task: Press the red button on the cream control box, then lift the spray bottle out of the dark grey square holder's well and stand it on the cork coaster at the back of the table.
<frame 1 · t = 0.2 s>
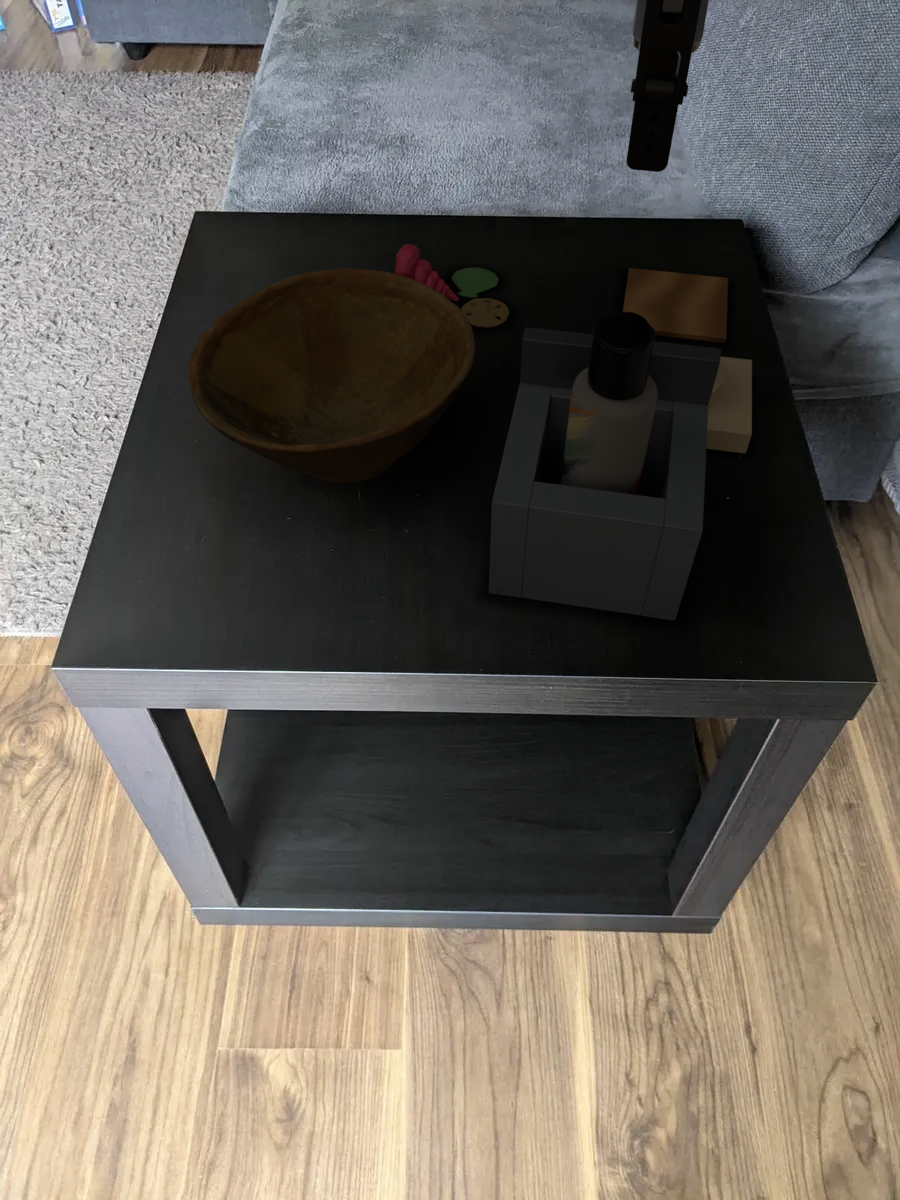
hand: (651, 130, 53), 30 cm above the table, tool pointing down, fingers open, 8 cm apart
coaster: (674, 306, 92), on the table
bowl: (345, 444, 81), on the table
button: (687, 366, 80), point 4 cm above the table, slide at 0.1 cm
toy pieces: (451, 302, 93), on the table
dark grey square holder: (590, 537, 74), on the table
control box: (677, 406, 83), on the table
spray bottle: (590, 539, 74), resting in dark grey square holder
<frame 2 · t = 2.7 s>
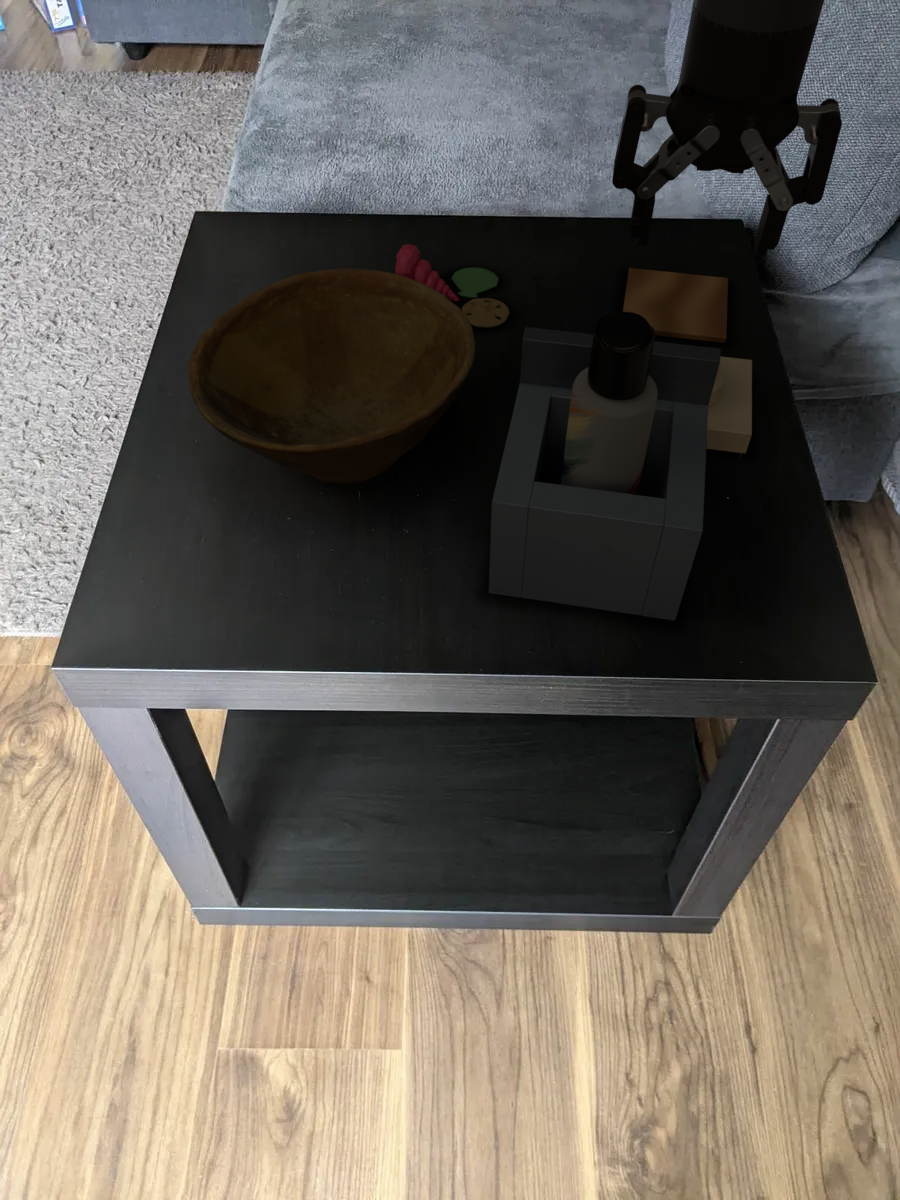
hand: (700, 245, 69), 17 cm above the table, tool pointing down, fingers open, 8 cm apart
nothing on the table moved.
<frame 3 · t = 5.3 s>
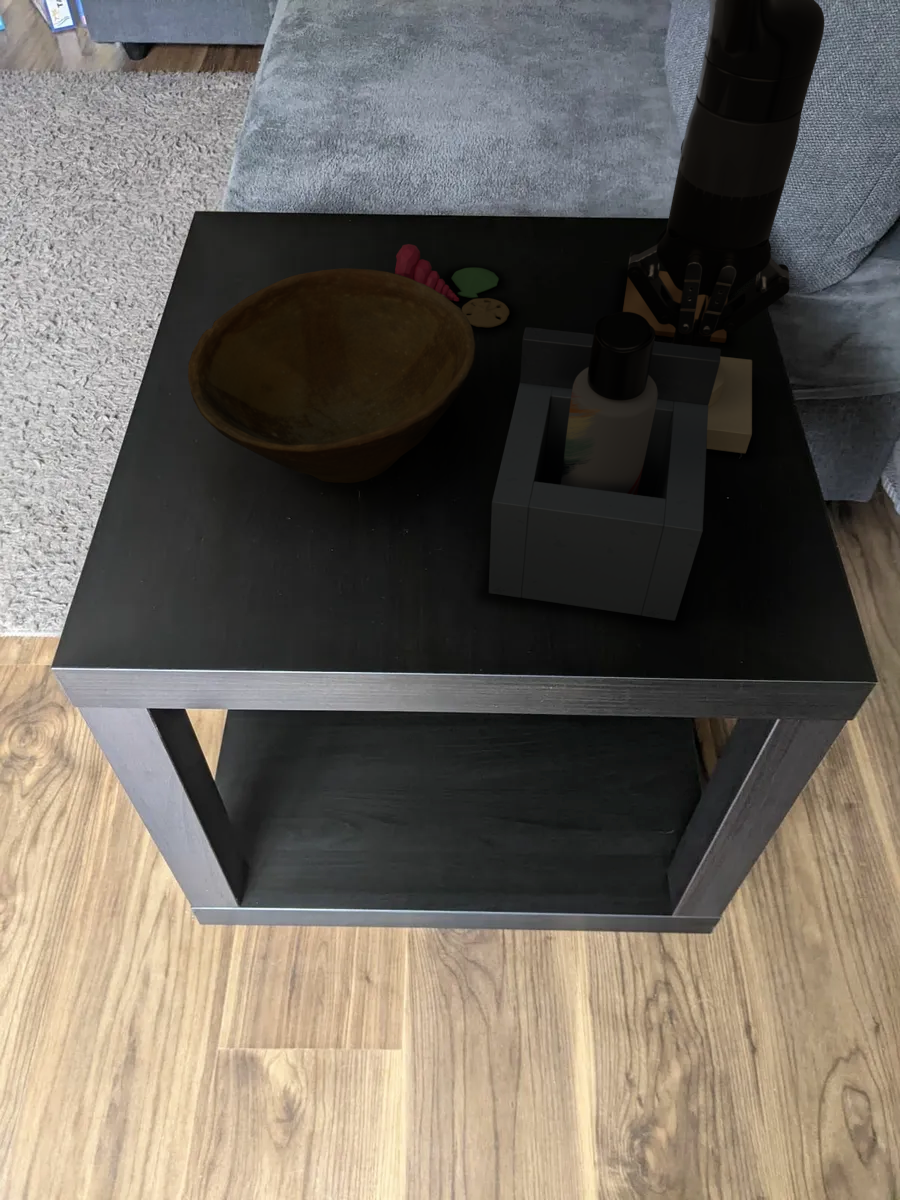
hand: (686, 363, 79), 5 cm above the table, tool pointing down, fingers closed
button: (685, 371, 80), point 4 cm above the table, slide at -0.5 cm, touching gripper
everything else where it was.
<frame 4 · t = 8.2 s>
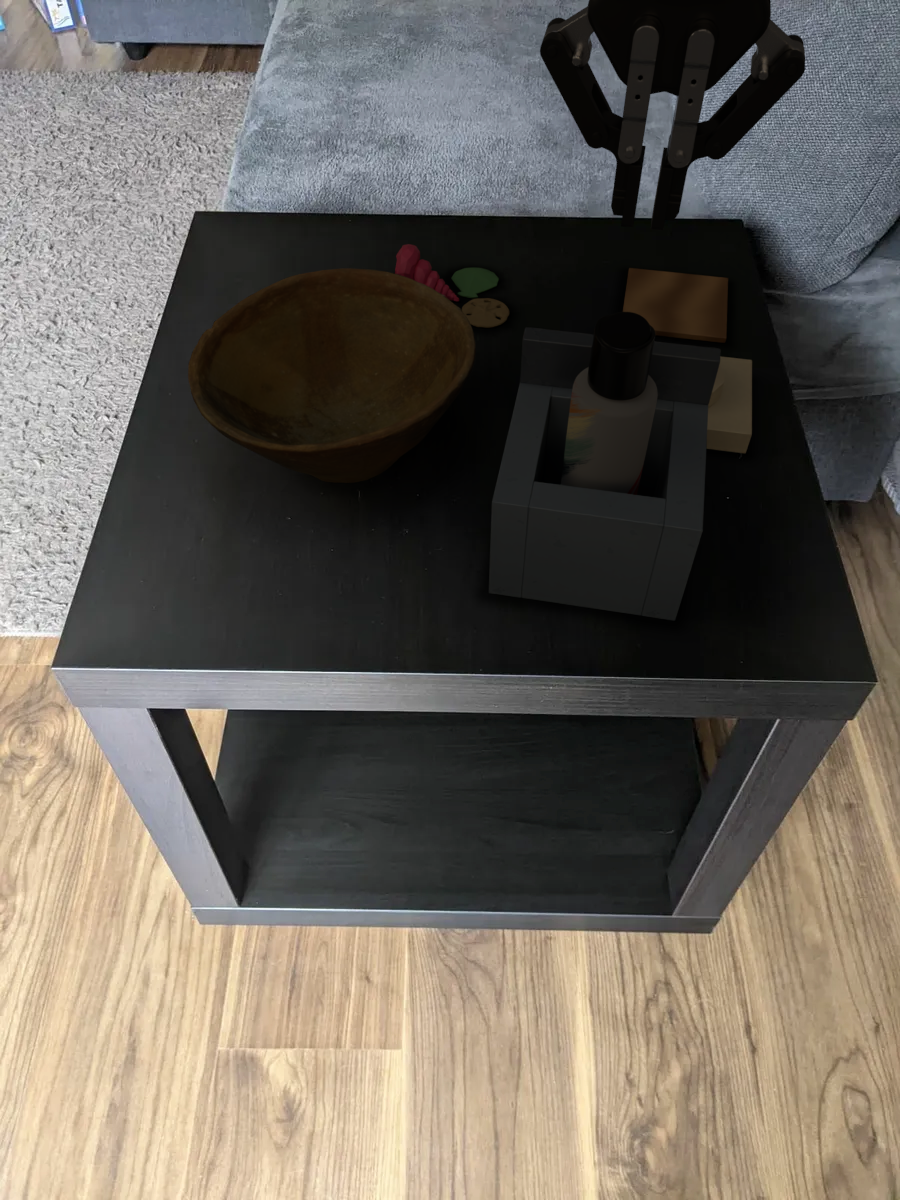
hand: (643, 220, 53), 27 cm above the table, tool pointing down, fingers closed
button: (687, 366, 80), point 4 cm above the table, slide at 0.1 cm
everything else where it was.
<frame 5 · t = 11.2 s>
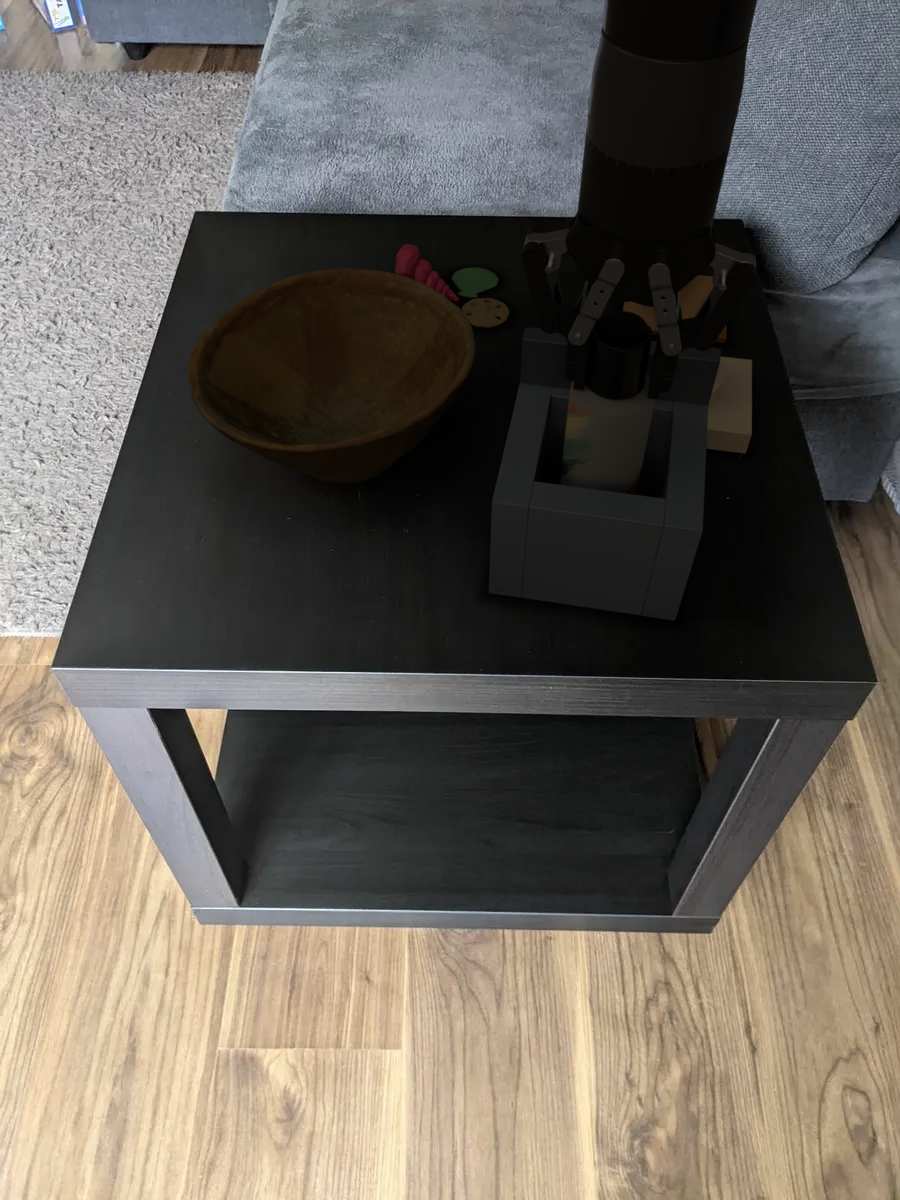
hand: (616, 385, 62), 15 cm above the table, tool pointing down, fingers closed on spray bottle, 4 cm apart
spray bottle: (590, 539, 74), resting in dark grey square holder, touching gripper
everything else where it was.
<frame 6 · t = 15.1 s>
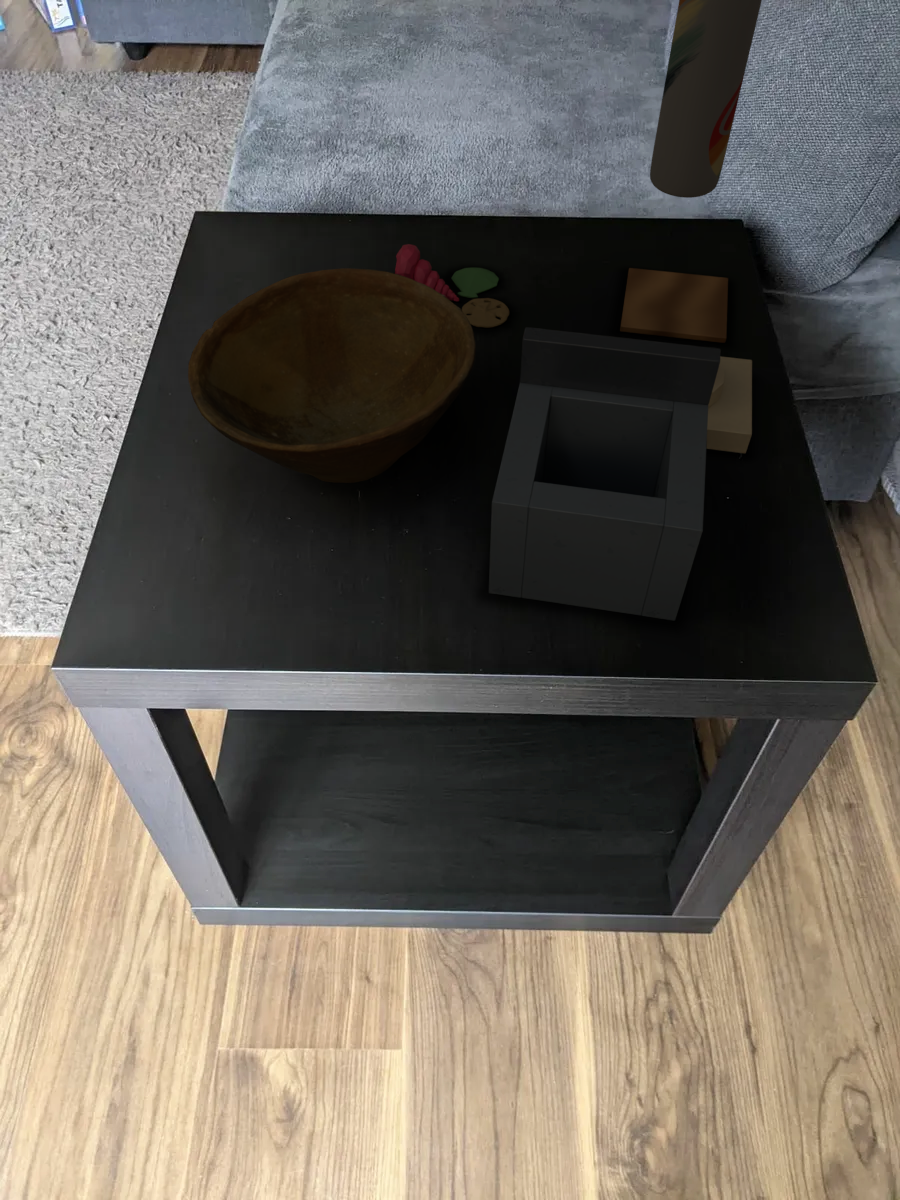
spray bottle: (682, 183, 77), point 15 cm above the table, touching gripper
everything else where it was.
when the fingers open (16 cm above the table, at t = 19.2 s): spray bottle stays where it is, resting on coaster.
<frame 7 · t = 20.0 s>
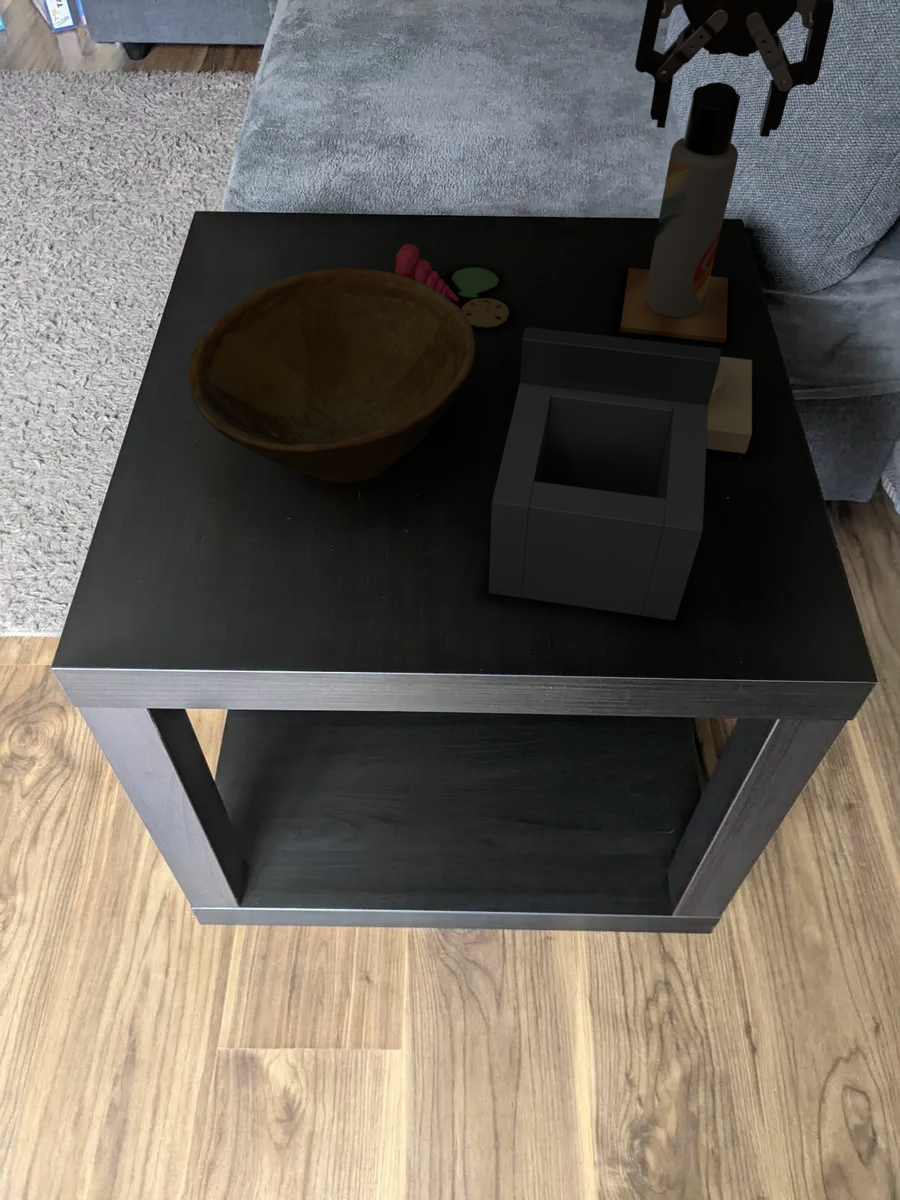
hand: (712, 128, 78), 18 cm above the table, tool pointing down, fingers open, 8 cm apart
spray bottle: (673, 303, 92), resting on coaster
everything else where it was.
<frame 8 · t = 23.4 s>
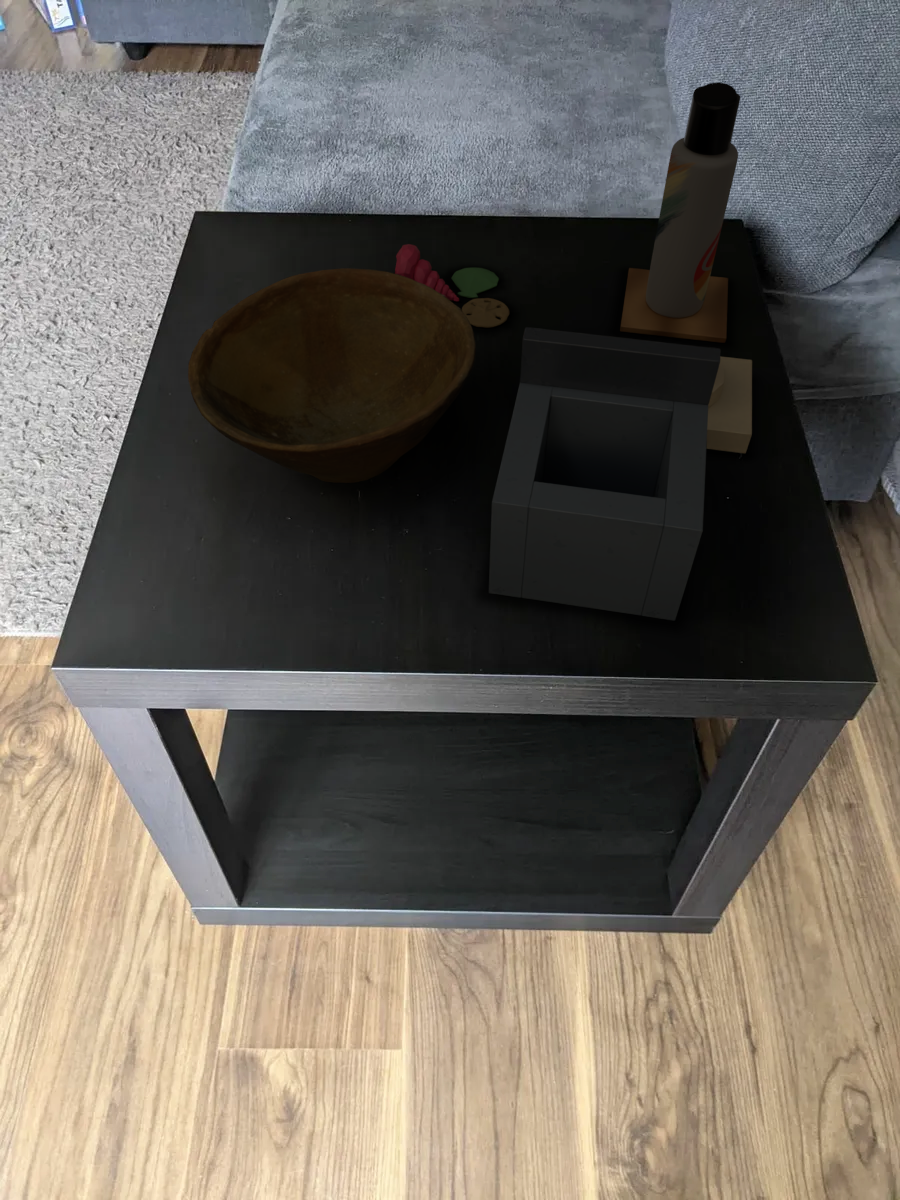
nothing on the table moved.
at the end: button pushed in 1.1 cm at the most during the clip, back to where it started at the end; spray bottle inside the target area on the coaster (0.2 cm from its centre), point 0.4 cm above the coaster's base; spray bottle tilted 0° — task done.
